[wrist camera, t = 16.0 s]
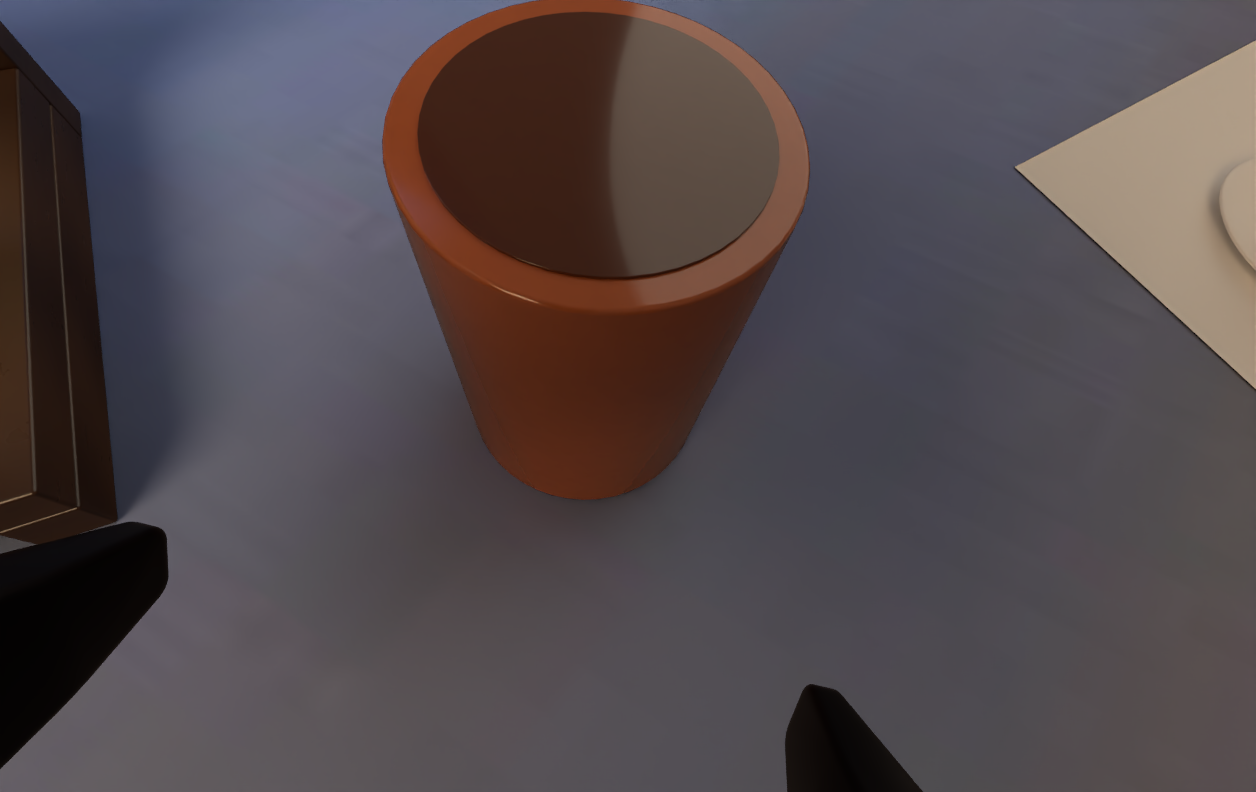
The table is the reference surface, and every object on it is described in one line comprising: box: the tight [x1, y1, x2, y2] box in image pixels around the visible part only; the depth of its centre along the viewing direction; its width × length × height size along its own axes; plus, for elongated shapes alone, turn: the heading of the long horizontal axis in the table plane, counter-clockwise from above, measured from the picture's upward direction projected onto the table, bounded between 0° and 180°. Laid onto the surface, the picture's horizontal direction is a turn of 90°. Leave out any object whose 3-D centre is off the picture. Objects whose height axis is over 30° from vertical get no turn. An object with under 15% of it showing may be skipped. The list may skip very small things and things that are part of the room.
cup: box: [382, 0, 810, 500], centre depth 13 cm, size 6×6×9 cm
